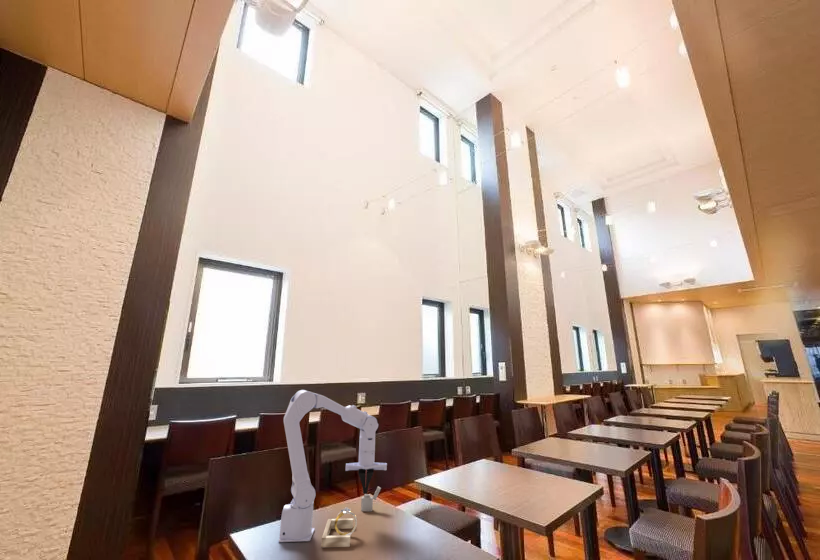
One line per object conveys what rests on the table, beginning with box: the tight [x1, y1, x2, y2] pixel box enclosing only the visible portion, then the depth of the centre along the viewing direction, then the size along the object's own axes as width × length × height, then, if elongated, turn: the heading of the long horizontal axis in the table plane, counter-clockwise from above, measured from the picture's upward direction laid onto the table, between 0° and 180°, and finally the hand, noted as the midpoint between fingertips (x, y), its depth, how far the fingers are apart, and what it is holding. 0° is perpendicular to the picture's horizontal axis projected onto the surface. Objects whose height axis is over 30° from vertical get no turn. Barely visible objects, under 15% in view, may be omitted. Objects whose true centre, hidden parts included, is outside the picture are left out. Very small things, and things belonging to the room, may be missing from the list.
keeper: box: [320, 517, 354, 548], centre depth 108 cm, size 8×13×2 cm, turn 5°
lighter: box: [360, 486, 382, 512], centre depth 129 cm, size 7×2×8 cm, turn 89°
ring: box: [334, 506, 358, 536], centre depth 109 cm, size 7×3×8 cm, turn 91°
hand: (365, 492), depth 120 cm, fingers closed
